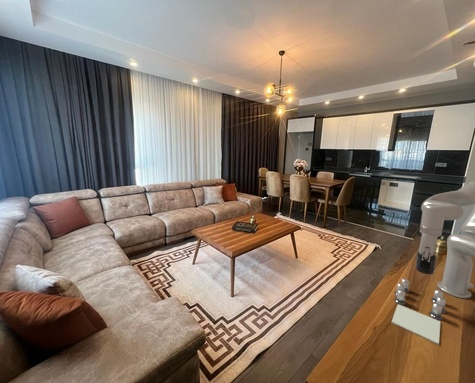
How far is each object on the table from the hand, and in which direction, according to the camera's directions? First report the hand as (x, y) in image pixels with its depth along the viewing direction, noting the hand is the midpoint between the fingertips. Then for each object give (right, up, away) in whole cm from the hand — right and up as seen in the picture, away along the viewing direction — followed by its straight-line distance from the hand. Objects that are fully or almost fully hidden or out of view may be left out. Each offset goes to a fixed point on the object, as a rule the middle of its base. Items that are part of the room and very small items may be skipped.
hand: (425, 264), depth 98 cm
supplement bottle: (0, -3, +1) cm, 3 cm away
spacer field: (0, -20, +4) cm, 20 cm away
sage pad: (-12, -23, -9) cm, 27 cm away
